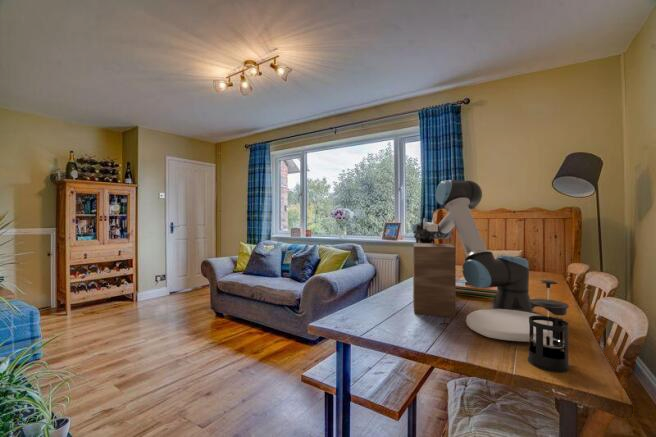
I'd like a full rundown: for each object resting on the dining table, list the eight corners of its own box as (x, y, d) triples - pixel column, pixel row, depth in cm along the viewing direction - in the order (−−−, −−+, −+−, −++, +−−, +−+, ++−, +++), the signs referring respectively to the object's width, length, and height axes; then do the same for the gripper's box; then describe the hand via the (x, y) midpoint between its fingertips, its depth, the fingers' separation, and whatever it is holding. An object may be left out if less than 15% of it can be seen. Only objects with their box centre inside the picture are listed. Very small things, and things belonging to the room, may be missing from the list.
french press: (557, 376, 79) (557, 286, 79) (519, 361, 87) (519, 279, 87) (579, 365, 85) (579, 281, 85) (541, 352, 93) (542, 275, 93)
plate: (481, 331, 98) (455, 306, 124) (483, 351, 98) (457, 323, 124) (576, 324, 95) (529, 301, 122) (579, 345, 95) (531, 317, 122)
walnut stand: (413, 303, 145) (413, 243, 145) (449, 305, 141) (449, 243, 141) (414, 313, 129) (414, 246, 129) (455, 316, 126) (455, 247, 125)
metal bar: (423, 228, 162) (423, 222, 162) (430, 228, 161) (430, 222, 161) (429, 231, 131) (429, 224, 131) (437, 231, 130) (437, 224, 130)
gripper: (442, 247, 168) (447, 227, 148) (410, 246, 172) (411, 226, 152) (441, 234, 172) (446, 213, 152) (410, 234, 176) (411, 213, 156)
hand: (429, 220), depth 152 cm, fingers closed on metal bar, 3 cm apart
